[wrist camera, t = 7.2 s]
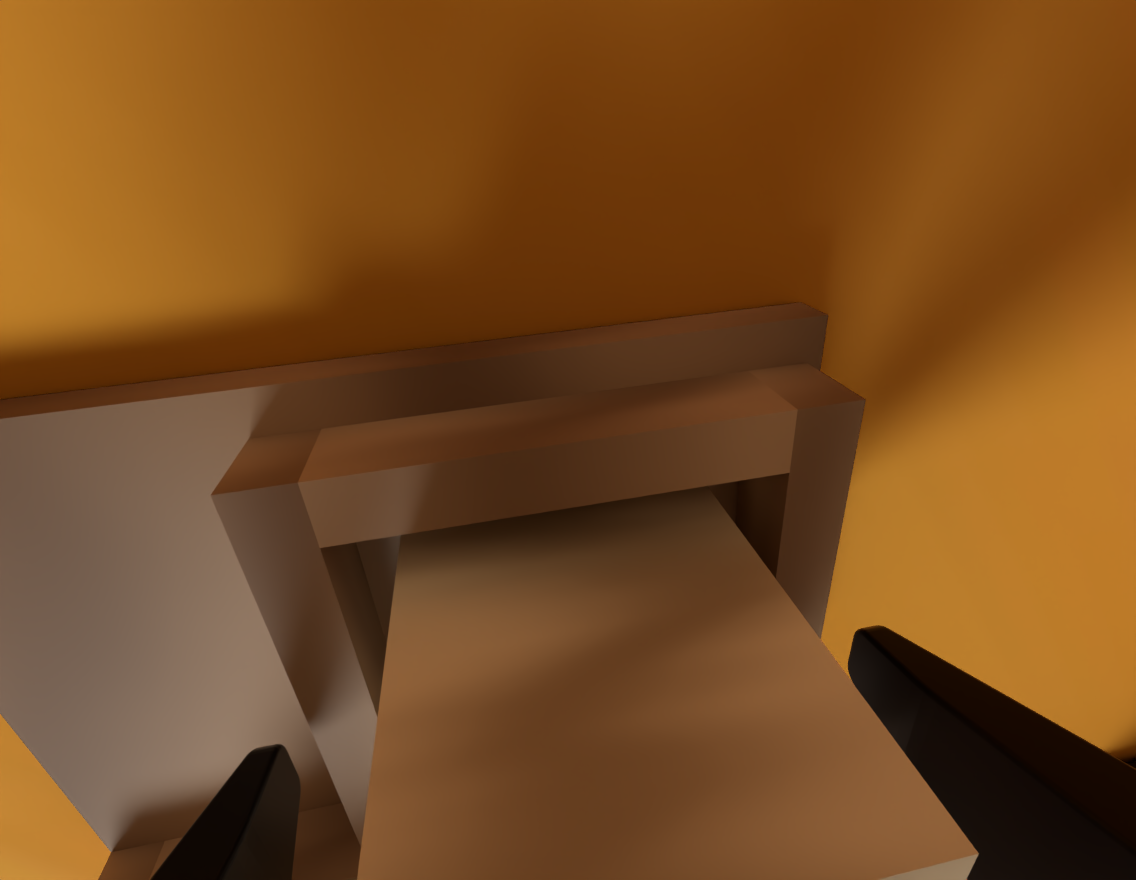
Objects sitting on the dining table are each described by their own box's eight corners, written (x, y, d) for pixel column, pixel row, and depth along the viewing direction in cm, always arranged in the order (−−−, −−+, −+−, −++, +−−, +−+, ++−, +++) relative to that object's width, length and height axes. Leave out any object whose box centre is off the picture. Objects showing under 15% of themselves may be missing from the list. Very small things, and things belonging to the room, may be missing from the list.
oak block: (700, 476, 10) (978, 854, 5) (690, 678, 12) (869, 1079, 7) (402, 522, 9) (340, 1018, 4) (452, 725, 12) (452, 1204, 6)
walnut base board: (800, 302, 10) (892, 345, 8) (731, 874, 18) (767, 966, 16) (-156, 418, 8) (-362, 513, 6) (261, 991, 16) (235, 1111, 14)
